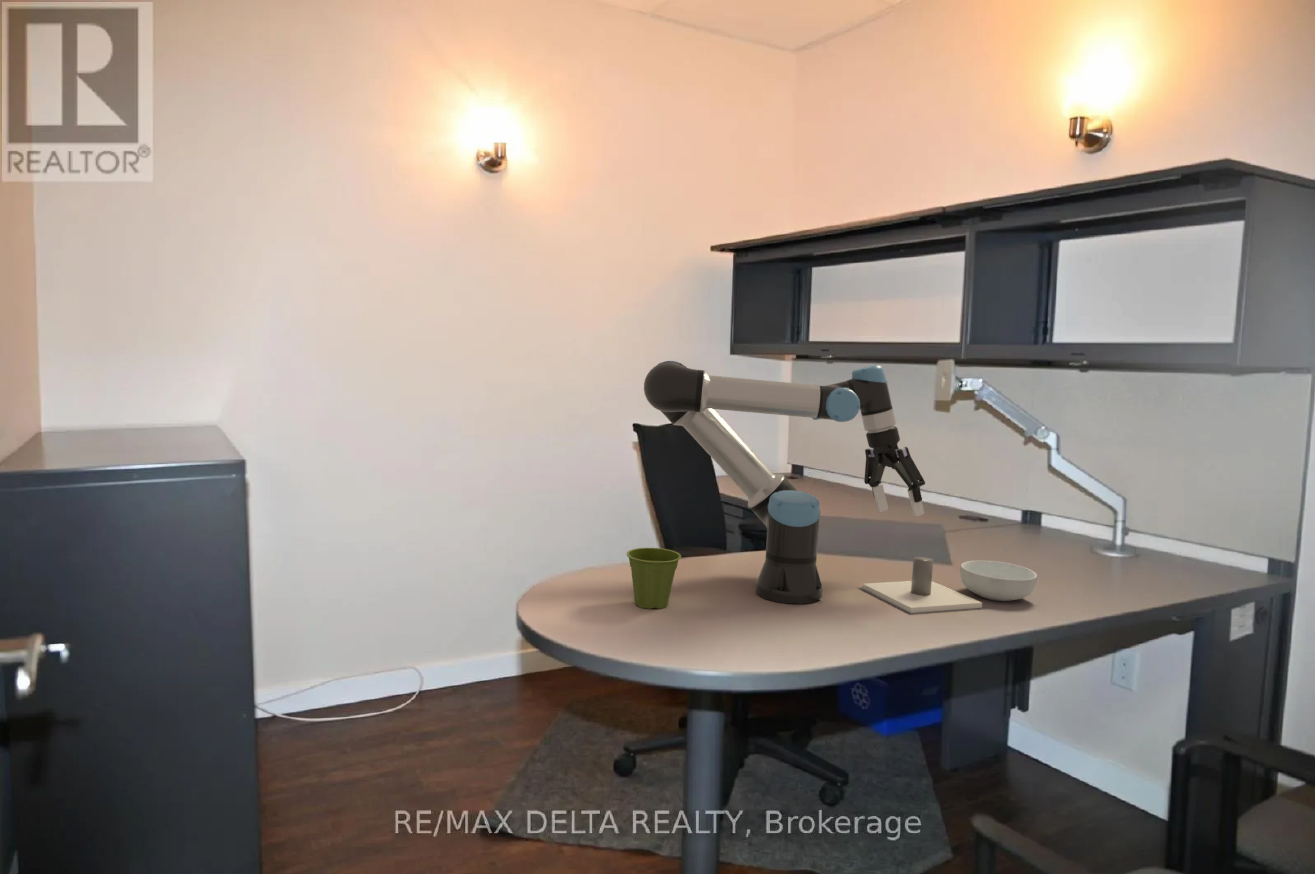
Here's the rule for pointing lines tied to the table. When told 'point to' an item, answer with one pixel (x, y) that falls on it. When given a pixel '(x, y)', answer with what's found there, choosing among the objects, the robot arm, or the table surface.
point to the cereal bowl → (998, 579)
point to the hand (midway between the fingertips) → (900, 513)
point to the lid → (921, 592)
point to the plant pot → (652, 575)
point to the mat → (919, 612)
